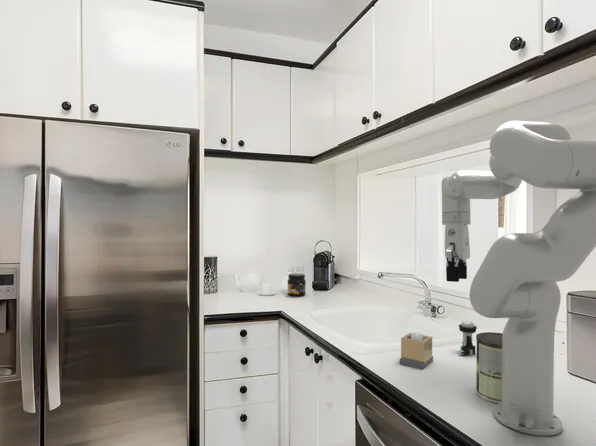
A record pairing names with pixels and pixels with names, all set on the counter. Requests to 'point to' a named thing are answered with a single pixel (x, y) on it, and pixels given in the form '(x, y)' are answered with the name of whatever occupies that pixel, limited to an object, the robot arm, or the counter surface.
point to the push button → (467, 338)
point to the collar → (416, 348)
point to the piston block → (413, 363)
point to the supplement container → (296, 285)
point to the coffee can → (489, 366)
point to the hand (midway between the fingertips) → (457, 280)
